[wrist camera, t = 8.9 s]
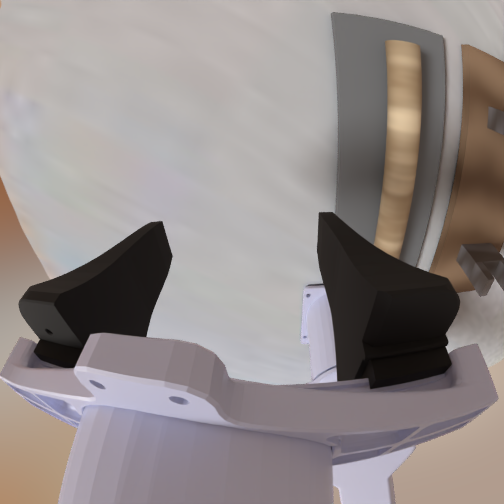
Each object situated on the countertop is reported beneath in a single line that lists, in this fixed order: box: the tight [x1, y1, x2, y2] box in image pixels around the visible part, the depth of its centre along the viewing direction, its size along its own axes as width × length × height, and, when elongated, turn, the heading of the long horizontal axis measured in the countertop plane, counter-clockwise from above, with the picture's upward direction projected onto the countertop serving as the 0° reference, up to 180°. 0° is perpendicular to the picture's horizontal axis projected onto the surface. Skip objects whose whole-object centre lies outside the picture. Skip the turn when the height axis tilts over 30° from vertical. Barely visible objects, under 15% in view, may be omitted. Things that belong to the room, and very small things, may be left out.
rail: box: [374, 40, 422, 259], centre depth 18 cm, size 22×2×2 cm, turn 5°
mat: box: [331, 12, 445, 267], centre depth 19 cm, size 26×9×1 cm, turn 5°
